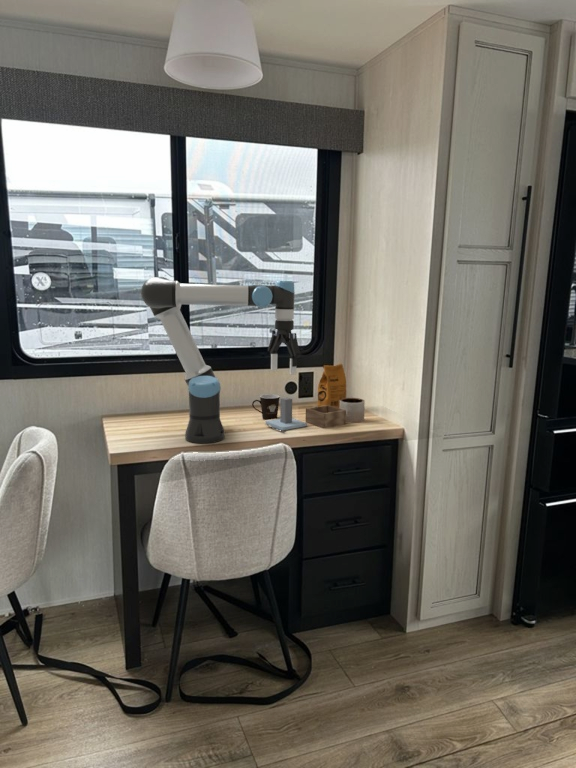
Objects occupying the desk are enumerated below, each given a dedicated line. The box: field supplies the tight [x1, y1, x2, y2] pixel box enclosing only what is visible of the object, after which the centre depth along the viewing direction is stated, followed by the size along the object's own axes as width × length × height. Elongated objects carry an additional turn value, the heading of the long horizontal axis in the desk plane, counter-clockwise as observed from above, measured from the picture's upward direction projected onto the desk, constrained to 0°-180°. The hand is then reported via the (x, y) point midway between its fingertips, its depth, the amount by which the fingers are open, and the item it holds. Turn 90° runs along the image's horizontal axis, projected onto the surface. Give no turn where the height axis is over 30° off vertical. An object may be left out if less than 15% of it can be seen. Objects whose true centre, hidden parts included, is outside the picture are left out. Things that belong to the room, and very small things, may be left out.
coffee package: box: [316, 363, 347, 408], centre depth 270 cm, size 10×12×22 cm
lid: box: [264, 396, 308, 432], centre depth 241 cm, size 12×12×13 cm
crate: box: [304, 405, 347, 429], centre depth 246 cm, size 12×12×7 cm
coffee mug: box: [251, 393, 281, 421], centre depth 257 cm, size 12×9×10 cm
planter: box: [339, 397, 366, 424], centre depth 253 cm, size 11×11×10 cm
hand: (283, 372), depth 238 cm, fingers open, 13 cm apart
